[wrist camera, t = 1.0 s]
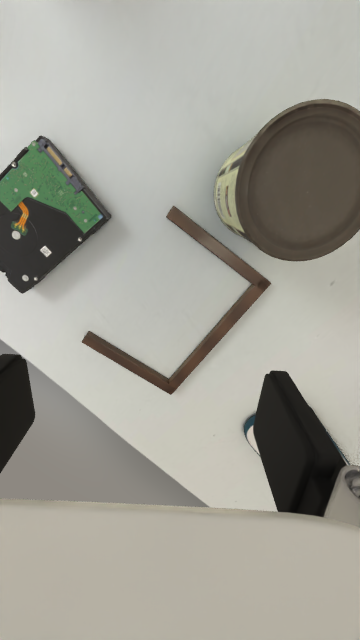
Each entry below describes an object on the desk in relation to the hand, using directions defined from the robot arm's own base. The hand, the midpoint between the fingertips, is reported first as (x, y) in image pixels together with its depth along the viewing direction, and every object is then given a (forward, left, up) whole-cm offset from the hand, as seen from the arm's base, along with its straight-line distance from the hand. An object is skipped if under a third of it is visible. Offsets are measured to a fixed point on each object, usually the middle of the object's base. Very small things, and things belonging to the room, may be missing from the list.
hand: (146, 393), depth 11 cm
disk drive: (+6, -15, -27) cm, 31 cm away
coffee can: (-12, +4, -27) cm, 30 cm away
